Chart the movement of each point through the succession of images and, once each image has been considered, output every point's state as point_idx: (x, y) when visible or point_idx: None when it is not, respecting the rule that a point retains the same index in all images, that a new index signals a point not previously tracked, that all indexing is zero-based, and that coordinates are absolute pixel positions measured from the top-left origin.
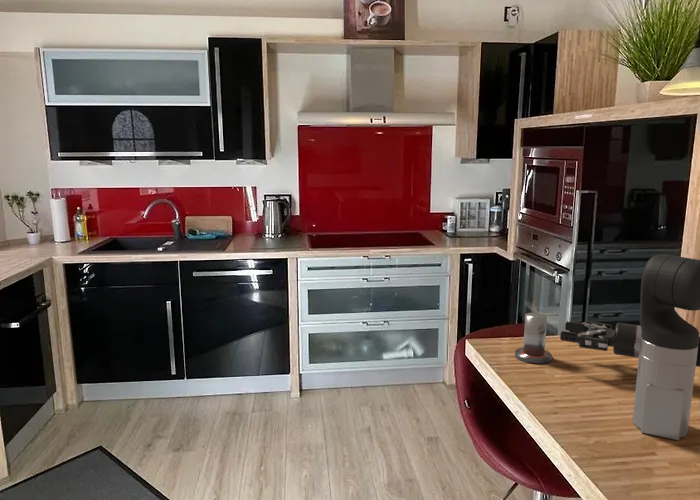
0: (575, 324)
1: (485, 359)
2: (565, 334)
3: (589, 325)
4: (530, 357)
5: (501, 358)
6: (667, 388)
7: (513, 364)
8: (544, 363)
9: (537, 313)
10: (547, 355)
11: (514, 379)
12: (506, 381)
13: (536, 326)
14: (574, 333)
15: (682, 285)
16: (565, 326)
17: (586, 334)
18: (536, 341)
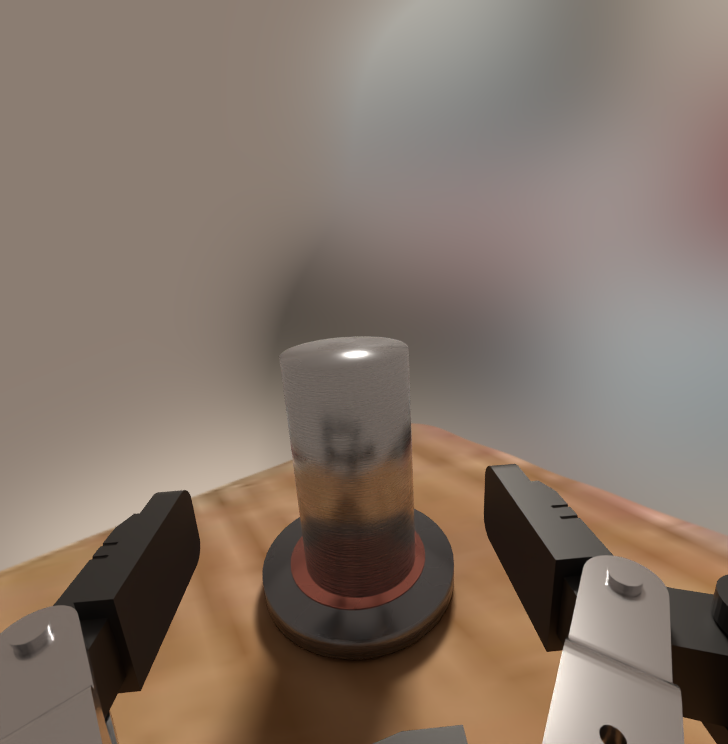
0: (524, 525)
1: (258, 474)
2: (123, 529)
3: (561, 656)
4: (290, 558)
5: (290, 498)
6: None
7: (238, 539)
8: (288, 637)
9: (395, 346)
10: (370, 613)
11: (49, 584)
12: (28, 568)
13: (287, 407)
14: (97, 574)
15: None
16: (484, 499)
17: (6, 719)
18: (297, 494)
